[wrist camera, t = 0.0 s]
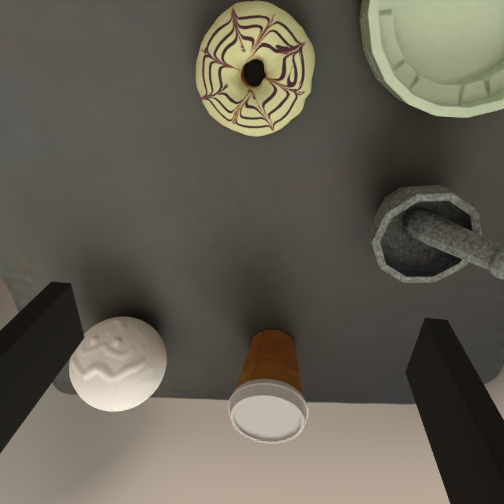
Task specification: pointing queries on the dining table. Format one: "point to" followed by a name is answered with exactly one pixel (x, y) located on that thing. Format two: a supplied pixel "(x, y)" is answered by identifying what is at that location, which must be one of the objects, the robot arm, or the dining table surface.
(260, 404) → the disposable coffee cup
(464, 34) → the bowl
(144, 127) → the dining table surface
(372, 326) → the dining table surface
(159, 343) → the decorative ball
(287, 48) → the decorated donut
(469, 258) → the mortar and pestle
